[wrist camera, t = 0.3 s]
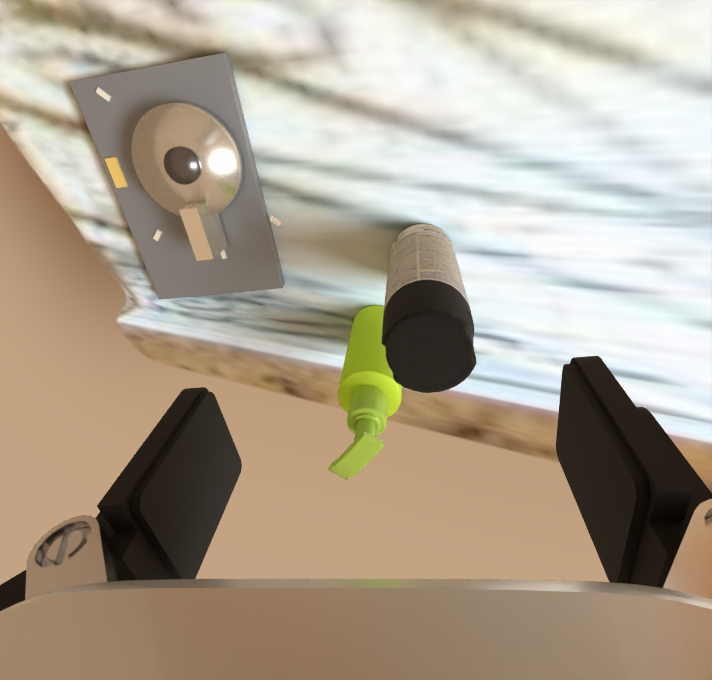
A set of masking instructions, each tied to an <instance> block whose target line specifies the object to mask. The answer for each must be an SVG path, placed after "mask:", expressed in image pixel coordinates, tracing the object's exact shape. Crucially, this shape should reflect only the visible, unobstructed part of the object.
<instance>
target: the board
mask: <svg viewBox="0 0 712 680" xmlns="http://www.w3.org/2000/svg"><path fill="white" fill-rule="evenodd" d="M69 83H70V86H71V88H72V90H73V93H74V95H75V98H76V100H77V102H78V105H79V107H80V110H81V112H82V115H83V117H84V119H85V122H86V124H87V127H88V129H89V131H90V134H91V136H92V139H93V141H94V143H95V146H96V148H97V151H98V153H99V156H100V158H101V160H102V163H103V165H104V168H105V170H106V172H107V175H108V177H109V180H110V182H111V184H112V187H113V189H114V192H115V194H116V197H117V199H118V201H119V204H120V206H121V209H122V211H123V213H124V216H125V218H126V221H127V223H128V225H129V228H130V230H131V233H132V235H133V238H134V240H135V242H136V245H137V247H138V250H139V252H140V254H141V257H142V259H143V262H144V264H145V267H146V269H147V271H148V274H149V276H150V279H151V281H152V283H153V286H154V288H155V291H156V293H157V295H158V298H159V299H169V298H180V297H190V296H201V295H212V294H222V293H233V292H244V291H254V290H265V289H276V288H282V287H283V285H284V284H285V283H284V279H283V275H282V271H281V267H280V263H279V259H278V254H277V250H276V246H275V242H274V238H273V234H272V230H271V226H270V222H269V220H270V221H272V222H273V223H274V224H276V225H277V226H278V227H279V226H280V225H281V223H282V222H281V221H279V220H278V219H276V218H275V217H274V216H271V218H270V219H269V218H268V214H267V210H266V205H265V201H264V197H263V193H262V189H261V185H260V181H259V177H258V173H257V169H256V165H255V161H254V157H253V152H252V148H251V144H250V140H249V136H248V132H247V128H246V124H245V120H244V116H243V112H242V108H241V103H240V99H239V95H238V91H237V87H236V83H235V79H234V75H233V71H232V67H231V63H230V59H229V55H228V54H227V53H220V54H215V55H210V56H204V57H199V58H194V59H188V60H183V61H178V62H172V63H167V64H162V65H156V66H151V67H146V68H140V69H135V70H130V71H124V72H119V73H114V74H108V75H103V76H98V77H92V78H87V79H82V80H76V81H71V82H69ZM180 102H186V103H193V104H197V105H200V106H203V107H205V108H207V109H209V110H210V111H212V112H213V113H215V114H216V115H218V116H219V117H220V118H221V119H222V120H223V121H224V122H225V123H226V124H227V125H228V126H229V128H230V129H231V130H232V132H233V133H234V135H235V137H236V138H237V140H238V143H239V145H240V147H241V150H242V153H243V158H244V165H245V175H244V182H243V185H242V188H241V191H240V193H239V195H238V196H237V198H236V199H235V200H234V201H233V202H232V203H231V204H230V205H229V206H228V207H226V208H225V209H224V210H222V211H221V212H219V213H218V214H219V218H220V221H221V224H222V228H223V231H224V234H225V237H226V241H227V244H228V246H227V247H226V248H225V249H224V250H223V251H222V252H221V253H220V254H219V255H217V256H216V257H215V258H214V259H210V260H200V261H197V260H196V258H195V255H194V252H193V249H192V246H191V243H190V240H189V237H188V235H187V232H186V229H185V226H184V223H183V220H182V217H181V216H178V215H176V214H174V213H172V212H170V211H168V210H166V209H165V208H163V207H162V206H161V205H159V204H158V203H157V202H156V201H155V200H154V199H153V198H152V197H151V196H150V195H149V194H148V192H147V191H146V190H145V188H144V187H143V185H142V183H141V182H140V180H139V178H138V176H137V173H136V171H135V167H134V164H133V159H132V151H131V147H132V137H133V133H134V130H135V128H136V126H137V124H138V122H139V120H140V119H141V118H142V116H143V115H144V114H145V113H146V112H148V111H149V110H151V109H152V108H154V107H157V106H159V105H163V104H169V103H180Z"/></svg>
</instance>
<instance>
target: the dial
mask: <svg viewBox="0 0 712 680" xmlns="http://www.w3.org/2000/svg"><path fill="white" fill-rule="evenodd" d="M131 151H132V159H133V164H134V167H135V171H136V173H137V176H138V178H139V180H140V182H141V183H142V185H143V187H144V188H145V190H146V191H147V192H148V194H149V195H150V196H151V197H152V198H153V199H154V200H155V201H156V202H157V203H158V204H159V205H161V206H162V207H163V208H165V209H166V210H168V211H170V212H172V213H174V214H176V215H178V216H181V217H182V220H183V223H184V226H185V229H186V232H187V235H188V237H189V240H190V243H191V246H192V249H193V252H194V255H195V258H196V260H197V261H200V260H210V259H214V258H215V257H216V256H217V255H219V254H220V253H221V252H222V251H223V250H224V249H225V248H226V247H227V246H228V244H227V241H226V237H225V234H224V231H223V228H222V224H221V221H220V218H219V214H218V213H219V212H221V211H222V210H224V209H225V208H226V207H228V206H229V205H230V204H231V203H232V202H233V201H234V200H235V199H236V198H237V196H238V195H239V193H240V191H241V188H242V185H243V182H244V175H245V165H244V158H243V153H242V150H241V147H240V145H239V143H238V140H237V138H236V137H235V135H234V133H233V132H232V130H231V129H230V128H229V126H228V125H227V124H226V123H225V122H224V121H223V120H222V119H221V118H220V117H219V116H218V115H216V114H215V113H213V112H212V111H210V110H209V109H207V108H205V107H203V106H200V105H197V104H193V103H186V102H180V103H169V104H163V105H159V106H157V107H154V108H152V109H151V110H149V111H148V112H146V113H145V114H144V115H143V116H142V118H141V119H140V120H139V122H138V124H137V126H136V128H135V130H134V133H133V137H132V147H131Z"/></svg>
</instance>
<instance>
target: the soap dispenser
mask: <svg viewBox="0 0 712 680" xmlns="http://www.w3.org/2000/svg"><path fill="white" fill-rule="evenodd" d="M383 315H384V306H381V305H372V306H368V307H366V308H364V309H362V310H361V311H359V312H358V313H357V315H356V316H355V318H354V320H353V324H352V329H351V333H350V338H349V343H348V347H347V352H346V357H345V362H344V366H343V371H342V376H341V380H340V385H339V390H338V399H339V402H340V404H341V406H342V408H343V409H344V410H345V411H346V412H347V413H348V417H347V424H348V427H349V429H350V430H351V431H352V432H353V433H355V438H354V442H353V443H352V444H351V445H350V447H349V448H348V449H347V450H346V451H345V452H344V453H343V454H342V455H341V456H340V457H339V458H338V459H337V460H335V461H334V462H333V463H332V464H331V465H330V467H329V469H328V470H329V471H331V472H333V473H335V474H337V475H338V476H340V477H342V478H344V479H346V480H347V479H349V478H350V477H352V476H354V475H355V474H356V473H358V472H359V471H360V470H361V469H362V468H363V467H364V466H365V465H367V464H368V463H369V462H370V460H371V459H372V458H373V457H374V456H375V455H376V454H377V453H378V452H379V451H380V450H381V449H382V448H383V441H381V440H379V439H378V438H376V437H375V436H377V435H379V434H381V433H382V432H383V431H384V429H385V427H386V422H387V418H388V417H390V416H391V415H393V414H394V413H395V412H396V411H397V409H398V408H399V406H400V404H401V398H402V385H400V384H398V383H397V382H396V381H395V380H394V379H393V372H392V370H391V369H390V367H389V365H388V362H387V359H386V350H385V346H384V345H383V344H382V327H383Z"/></svg>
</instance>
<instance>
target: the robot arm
mask: <svg viewBox="0 0 712 680" xmlns="http://www.w3.org/2000/svg"><path fill="white" fill-rule="evenodd" d="M556 451H557V456H558V459H559V462H560V464H561V466H562V469H563V471H564V474H565V476H566V478H567V481H568V483H569V486H570V488H571V490H572V493H573V495H574V498H575V500H576V502H577V505H578V507H579V510H580V512H581V514H582V517H583V519H584V522H585V524H586V526H587V529H588V531H589V534H590V536H591V539H592V541H593V543H594V546H595V548H596V551H597V553H598V555H599V558H600V560H601V563H602V565H603V568H604V570H605V572H606V575H607V577H608V580H609V582H610V583H609V582H594V581H554V580H501V579H499V580H498V579H495V580H494V579H195V578H196V575H197V573H198V571H199V569H200V566H201V564H202V562H203V559H204V557H205V555H206V552H207V550H208V547H209V545H210V543H211V540H212V538H213V536H214V533H215V531H216V529H217V526H218V524H219V522H220V519H221V517H222V515H223V512H224V510H225V508H226V505H227V503H228V501H229V498H230V496H231V494H232V491H233V489H234V487H235V484H236V482H237V480H238V477H239V475H240V472H241V467H242V465H241V459H240V457H239V454H238V452H237V449H236V447H235V444H234V442H233V439H232V437H231V434H230V432H229V429H228V427H227V425H226V422H225V420H224V417H223V415H222V412H221V410H220V407H219V405H218V403H217V400H216V398H215V396H214V394H213V393H212V392H209V391H208V390H207V389H206V388H190V389H184V390H183V391H182V392H181V393H180V394H179V396H178V397H177V398H176V400H175V401H174V402H173V404H172V405H171V406H170V408H169V409H168V410H167V412H166V413H165V414H164V416H163V417H162V419H161V420H160V421H159V423H158V424H157V425H156V427H155V428H154V429H153V431H152V432H151V434H150V435H149V436H148V438H147V439H146V440H145V442H144V443H143V444H142V446H141V447H140V448H139V450H138V451H137V452H136V454H135V455H134V457H133V458H132V459H131V461H130V462H129V463H128V465H127V466H126V467H125V469H124V470H123V471H122V473H121V474H120V476H119V477H118V478H117V480H116V481H115V482H114V484H113V485H112V487H111V488H110V489H109V490H108V492H107V493H106V494H105V496H104V497H103V499H102V500H101V501H100V503H99V504H98V505H97V507H98V508H99V510H100V513H99V514H98V516H97V517H96V518H94V517H92V516H86V515H82V516H77V517H73V518H71V519H68V520H66V521H64V522H62V523H60V524H58V525H57V526H55V527H54V528H52V529H51V530H50V531H48V533H46V534H45V535H44V536H42V538H41V539H40V540H39V541H38V542H37V543H36V544H35V545H34V547H33V549H32V550H31V552H30V554H29V556H28V560H27V569H26V570H25V571H23V572H21V573H20V574H18V575H16V576H15V577H13V578H11V579H10V580H8V581H6V582H5V583H3V584H1V585H0V680H712V493H711V492H710V490H709V489H708V488H707V486H706V485H705V484H704V482H703V481H702V480H701V479H700V477H699V476H698V475H697V473H696V472H695V471H694V469H693V468H692V467H691V465H690V464H689V463H688V461H687V460H686V459H685V457H684V456H683V455H682V453H681V452H680V451H679V450H678V448H677V447H676V446H675V444H674V443H673V442H672V440H671V439H670V438H669V436H668V435H667V434H666V432H665V431H664V430H663V428H662V427H661V426H660V424H659V423H658V422H657V421H656V419H655V418H654V417H653V415H652V414H651V413H650V412H649V411H648V410H647V409H646V408H643V407H636V406H635V405H634V403H633V402H632V401H631V399H630V398H629V397H628V395H627V394H626V392H625V391H624V390H623V388H622V387H621V386H620V384H619V383H618V381H617V380H616V379H615V377H614V376H613V375H612V373H611V372H610V370H609V369H608V368H607V366H606V365H605V363H604V362H603V361H602V359H601V358H600V357H599V356H589V357H577V358H572V360H571V362H570V364H565V365H564V366H563V371H562V382H561V393H560V405H559V416H558V428H557V439H556Z"/></svg>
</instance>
